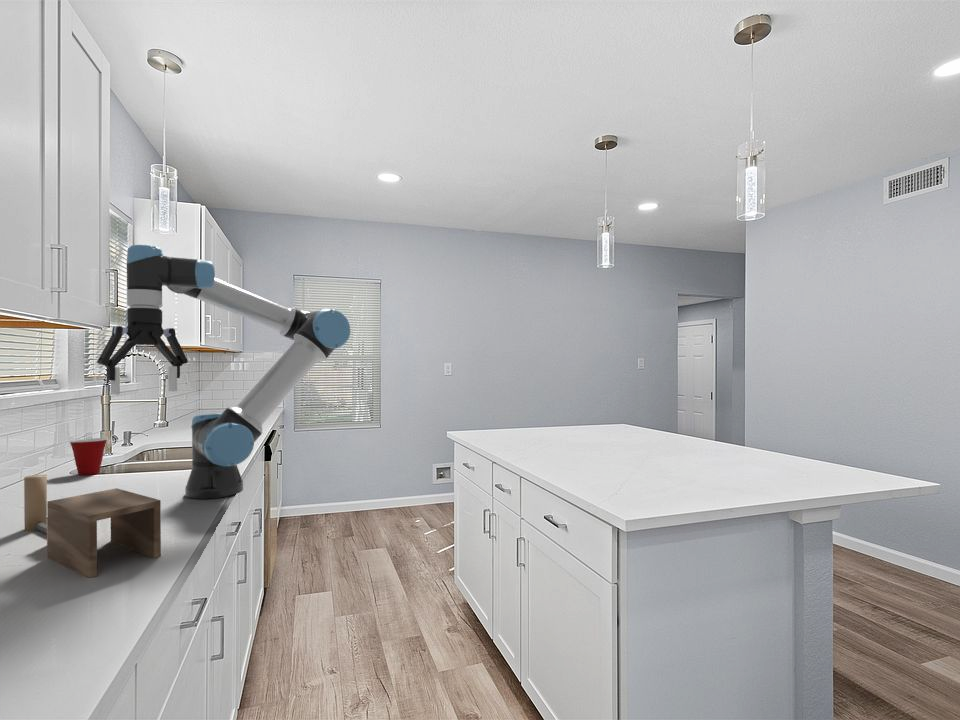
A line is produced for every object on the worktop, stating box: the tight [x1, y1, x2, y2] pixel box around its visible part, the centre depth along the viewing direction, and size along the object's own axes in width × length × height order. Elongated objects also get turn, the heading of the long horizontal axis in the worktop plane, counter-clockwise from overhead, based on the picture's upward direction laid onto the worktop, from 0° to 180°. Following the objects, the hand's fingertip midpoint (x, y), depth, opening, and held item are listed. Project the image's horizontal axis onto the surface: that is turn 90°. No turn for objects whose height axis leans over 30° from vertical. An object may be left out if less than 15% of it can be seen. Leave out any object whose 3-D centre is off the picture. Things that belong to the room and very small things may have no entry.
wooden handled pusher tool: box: [23, 474, 48, 547], centre depth 119 cm, size 6×24×12 cm, turn 57°
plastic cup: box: [68, 437, 109, 476], centre depth 182 cm, size 11×11×12 cm
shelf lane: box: [47, 488, 162, 578], centre depth 107 cm, size 12×18×11 cm
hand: (145, 392), depth 135 cm, fingers open, 13 cm apart
